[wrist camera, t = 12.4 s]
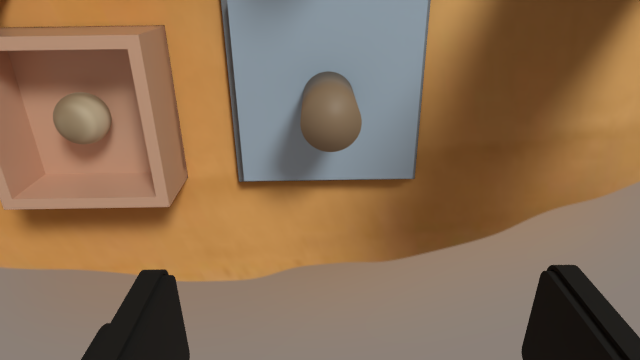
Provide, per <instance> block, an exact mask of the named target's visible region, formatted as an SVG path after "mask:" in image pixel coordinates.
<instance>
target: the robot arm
mask: <svg viewBox="0 0 640 360" xmlns="http://www.w3.org/2000/svg"><path fill="white" fill-rule="evenodd" d="M189 355H190V353H189V347H188V342H187V337H186V331H185V327H184V322H183V316H182V311H181V306H180V300H179V295H178V290H177V285H176V280H175V277H174V276H173V275H168V272H167V271H166V270H142V271H141V272H140V273H139V275H138V277H137V279H136V280H135V282H134V284H133V286H132V287H131V289H130V291H129V292H128V294H127V296H126V297H125V299H124V301H123V303H122V304H121V306H120V308H119V309H118V311H117V313H116V314H115V316H114V318H113V320H112V321H111V323H107V324H105V325H103V326H102V327H101V328H100V330H99V331H98V333H97V334H96V336H95V338H94V339H93V341H92V342H91V344H90V346H89V347H88V349H87V351H86V352H85V354H84V356H83V357H82V359H81V360H189V358H190V356H189ZM522 358H523V360H640V338H639V337H638V336H637V334H636V333H635V332H634V331H633V330H632V329H631V327H630V326H629V325H628V324H627V323H626V322H625V321H624V319H623V318H622V317H621V316H620V315H619V314H618V312H617V311H616V310H615V309H614V308H613V307H612V305H611V304H610V303H609V302H608V301H607V300H606V299H605V298H604V296H603V295H602V294H601V293H600V292H599V291H598V289H597V288H596V287H595V286H594V285H593V284H592V282H591V281H590V280H589V279H588V278H587V277H586V276H585V274H584V273H583V272H582V271H581V270H580V269H579V268H578V267H577V266H575V265H551V266H549V267H548V269H547V271H543V272H542V273H541V275H540V279H539V283H538V287H537V291H536V295H535V299H534V302H533V306H532V310H531V314H530V318H529V323H528V326H527V330H526V334H525V338H524V342H523V346H522Z"/></svg>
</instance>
